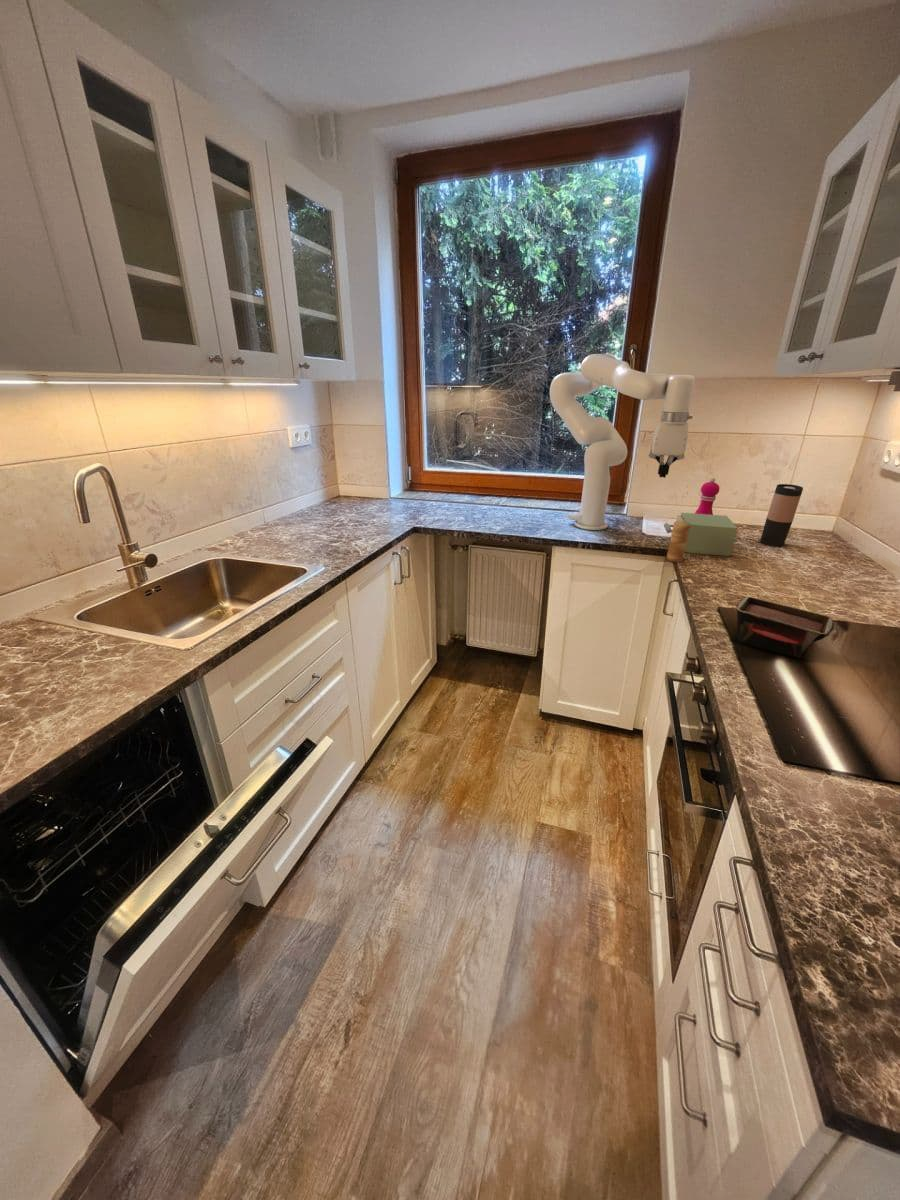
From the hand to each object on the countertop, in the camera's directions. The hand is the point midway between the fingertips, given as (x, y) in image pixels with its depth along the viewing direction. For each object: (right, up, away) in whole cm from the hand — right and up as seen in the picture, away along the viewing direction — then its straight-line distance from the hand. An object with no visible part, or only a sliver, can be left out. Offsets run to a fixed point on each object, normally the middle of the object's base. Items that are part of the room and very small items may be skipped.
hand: (662, 476), depth 156 cm
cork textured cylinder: (+2, -28, -4) cm, 28 cm away
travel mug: (+43, -21, +10) cm, 49 cm away
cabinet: (+16, -23, +6) cm, 29 cm away
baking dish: (+3, -51, -50) cm, 71 cm away
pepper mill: (+24, -15, +22) cm, 36 cm away
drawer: (+13, -21, +7) cm, 26 cm away
